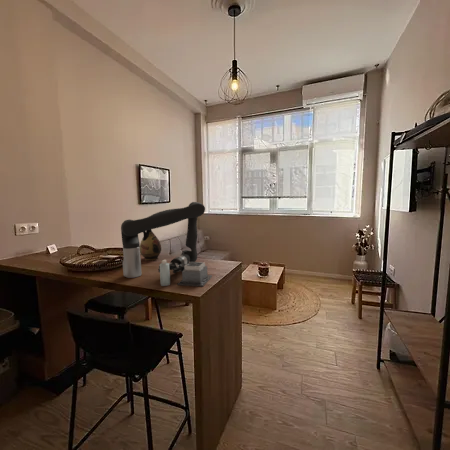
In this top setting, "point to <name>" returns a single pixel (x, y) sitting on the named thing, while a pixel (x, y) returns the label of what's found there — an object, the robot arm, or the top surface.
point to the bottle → (164, 273)
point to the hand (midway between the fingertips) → (166, 271)
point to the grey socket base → (195, 274)
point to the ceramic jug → (150, 246)
